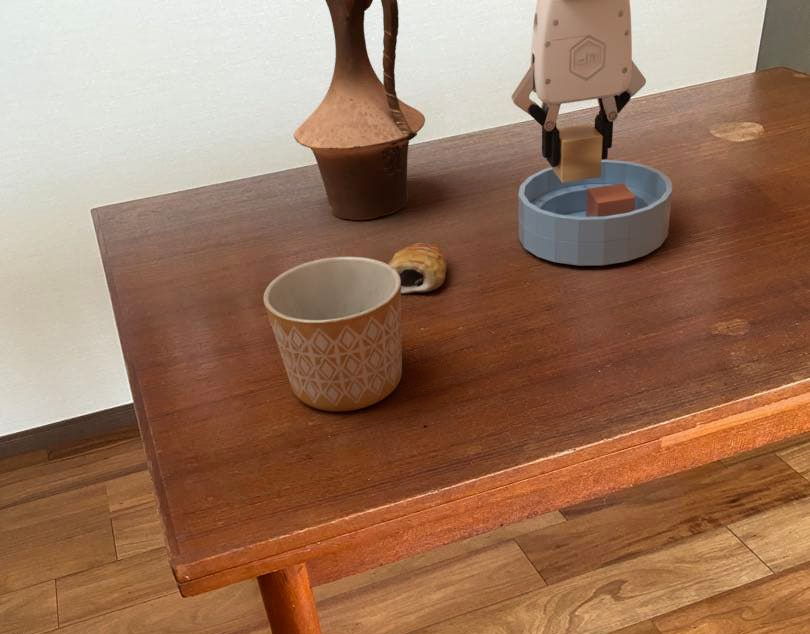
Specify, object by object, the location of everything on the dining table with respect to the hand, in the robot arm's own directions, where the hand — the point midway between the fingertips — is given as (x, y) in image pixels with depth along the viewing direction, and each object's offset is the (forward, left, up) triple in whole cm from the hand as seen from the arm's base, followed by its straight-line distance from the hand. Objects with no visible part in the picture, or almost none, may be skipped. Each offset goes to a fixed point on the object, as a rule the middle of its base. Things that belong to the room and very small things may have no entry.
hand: (576, 157), depth 101 cm
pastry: (+20, +5, -10) cm, 23 cm away
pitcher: (+23, -19, -10) cm, 31 cm away
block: (0, 0, -2) cm, 2 cm away
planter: (+30, +25, -10) cm, 40 cm away
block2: (-4, +1, -9) cm, 10 cm away
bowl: (-2, +1, -9) cm, 10 cm away
